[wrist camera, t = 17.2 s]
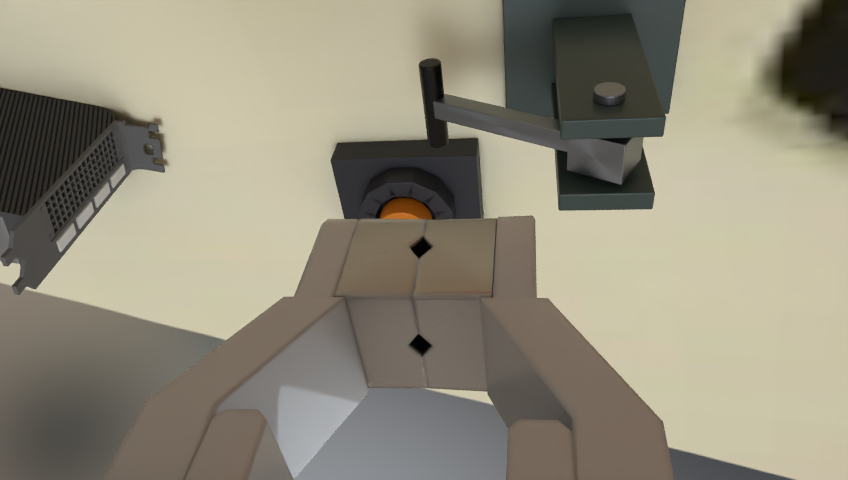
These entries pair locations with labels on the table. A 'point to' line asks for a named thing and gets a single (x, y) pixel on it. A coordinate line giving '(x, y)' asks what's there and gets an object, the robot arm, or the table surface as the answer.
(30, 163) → the graphics card
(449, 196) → the control block
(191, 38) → the table surface
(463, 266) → the robot arm
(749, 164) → the table surface
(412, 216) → the button
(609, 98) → the bracket
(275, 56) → the table surface
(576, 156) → the switch lever
